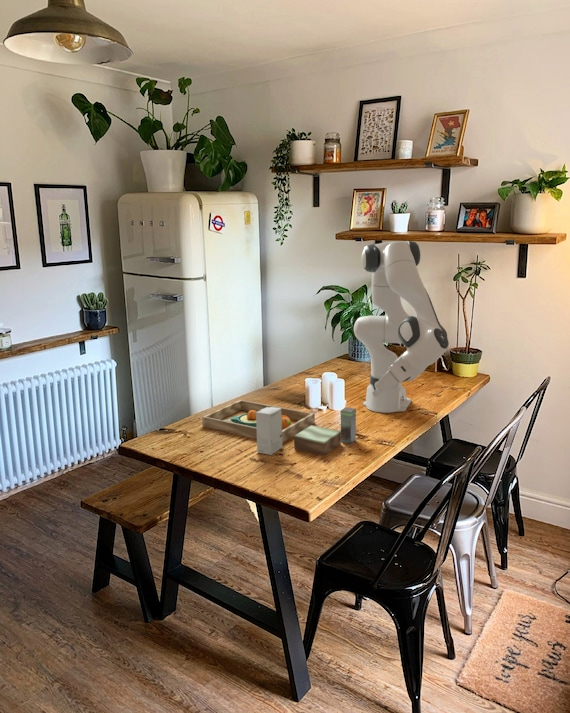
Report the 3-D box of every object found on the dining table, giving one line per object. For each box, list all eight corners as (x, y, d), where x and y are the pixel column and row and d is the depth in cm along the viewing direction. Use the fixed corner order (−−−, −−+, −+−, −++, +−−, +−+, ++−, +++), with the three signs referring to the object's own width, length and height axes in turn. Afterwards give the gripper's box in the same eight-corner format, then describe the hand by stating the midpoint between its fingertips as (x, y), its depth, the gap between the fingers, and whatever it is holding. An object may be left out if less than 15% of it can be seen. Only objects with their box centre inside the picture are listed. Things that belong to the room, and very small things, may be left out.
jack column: (345, 438, 224) (345, 407, 221) (356, 440, 221) (356, 408, 219) (340, 442, 220) (340, 410, 217) (350, 444, 218) (351, 412, 215)
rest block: (311, 438, 224) (311, 425, 223) (340, 444, 218) (340, 431, 217) (294, 449, 215) (294, 435, 213) (324, 455, 208) (324, 442, 207)
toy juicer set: (300, 425, 239) (300, 406, 237) (276, 440, 224) (276, 420, 222) (240, 414, 253) (239, 396, 251) (213, 428, 238) (212, 409, 236)
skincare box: (271, 455, 209) (270, 414, 206) (256, 452, 212) (254, 412, 209) (283, 447, 216) (282, 407, 213) (268, 444, 219) (267, 405, 216)
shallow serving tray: (240, 408, 259) (240, 399, 258) (314, 423, 240) (314, 413, 239) (202, 426, 238) (202, 417, 237) (279, 443, 219) (279, 433, 219)
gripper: (413, 353, 211) (386, 377, 218) (389, 366, 194) (361, 391, 202) (425, 367, 210) (397, 391, 217) (402, 381, 193) (373, 406, 200)
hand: (380, 391), depth 209 cm, fingers open, 8 cm apart
